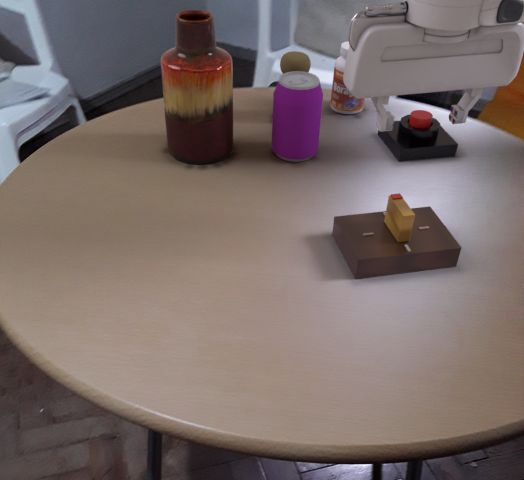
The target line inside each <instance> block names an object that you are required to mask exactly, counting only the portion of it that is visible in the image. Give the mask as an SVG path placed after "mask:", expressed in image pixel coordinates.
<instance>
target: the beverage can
mask: <svg viewBox="0 0 524 480" xmlns="http://www.w3.org/2000/svg"><path fill="white" fill-rule="evenodd" d="M322 88H323V87H322V85H321V80H320V78H319V77H318V76H317V75H316V74H313V73H311V72H309V73H308V72H301V71H292V72H287V73H284V74H283V73H282V74H281V75H279V78H278V81H277V83H276V86H275V88H274V91H273V97H272V124H271V125H272V126H271V149H272V152H273V153H274V154H275V155H276V156H277V157H278V158H279V159H282V160H284V161H287V162H293V163H299V162H305V161H308V160H310V159H311V158H312V157H314V156H315V155H316V154H317V153H318V150H319V144H320V133H321V124H322V123H321V122H322V111H323V101H324V92H323V89H322Z"/></svg>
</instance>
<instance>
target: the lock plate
mask: <svg viewBox="0 0 524 480" xmlns="http://www.w3.org/2000/svg"><path fill="white" fill-rule="evenodd" d="M410 208H411V207H410ZM411 210H412V211H413V213H414V214H415V218H414V222H413V226H412V231H411V235H410V240H409V241H406V242H397V240H396V239H395V237H394V236H393V234H392V233H391V231H390V230H389V228H388V227H387V225H386V224H385V222H384V219H385V214H386V210H383V211H373V212H364V213H354V214H345V215H337V216H336V215H335V216H334V217H333V224H332V233H331V236H332V238H333V240H334V242H335V243H336V245H337V248H338V249H339V251H340V253H341V255H342V257H343V259H344V260H345V262H346V264H347V266H348V268H349V270H350V272H351V274H352V276H353V278H354V279H355V280H358V279H366V278H373V277H382V276H391V275H399V274H406V273H413V272H423V271H430V270H438V269H444V268H445V269H447V268H454V267H457V265H458V261H459V259H460V255H461V251H462V246H461V245H460V243H459V242H458V240H457V239H456V238H455V237H454V236H453V234H452V233H451V232H450V230H449V229H448V227H447V226H446V225H445V224H444V223H443V221H442V220H441V219H440V217H439V215H438V214H437V213H436V212H435V210H433V208H432V207H431V206H420V207H412V208H411Z"/></svg>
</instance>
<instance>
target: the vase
mask: <svg viewBox="0 0 524 480" xmlns="http://www.w3.org/2000/svg"><path fill="white" fill-rule="evenodd" d="M174 24H175V28H174V29H175V31H174V32H175V46H174V47H171V48H170V49H167V50H165V52H164V53H163V54H162V55H161V57H160V73H161V85H162V95H163V96H162V97H163V108H164V119H165V120H164V122H165V131H166V132H165V133H166V143H167V151H168V153H169V155H170V156H171V157H172V158H173V159H175V160H177V161H179V162H182V163H185V164H191V165H209V164H215V163H219V162H221V161H223V160H226V159H227V158H229V157H230V156H231V155H232V153H233V151H234V89H233V88H234V78H233V77H234V76H233V75H234V74H233V73H234V71H233V57H232V55H231V54H230V53H229V52H228V51H227V50H225V49H224V48H222V47H219V46H217V39H216V28H215V27H216V26H215V19H214V15H213V13H212V12H211V11H207V10H203V9H186V10H182V11H179V12H177V13H176V15H175V23H174Z"/></svg>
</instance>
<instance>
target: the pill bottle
mask: <svg viewBox="0 0 524 480" xmlns="http://www.w3.org/2000/svg"><path fill="white" fill-rule="evenodd" d="M349 46H350V45H349V40H347V41H343V42H341V45H340V49H339V53H340V56H338V57H337V58H336V59H335V61H334V67H333V74H332V75H333V77H332V85H331V94H330V105H329V106H330V108H331V109H332V111H334V112H336V113H337V114H341V115H355V114H359V113H361V112H362V111H363V110H364V106H365V99H366V98H361V99H357V98H355V97H354V96H353V95H352V94H351V93H350V92H349V91H348V89H347V88H346V86H345V84H344V82H343V75H344V68H345V63H346V58H347V54H348V49H349Z"/></svg>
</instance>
